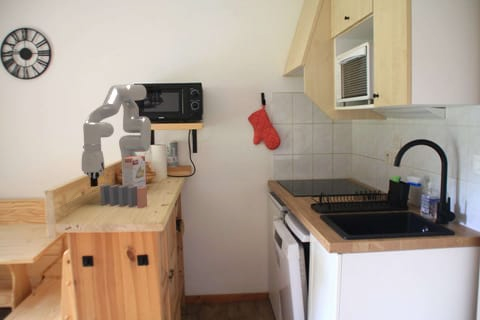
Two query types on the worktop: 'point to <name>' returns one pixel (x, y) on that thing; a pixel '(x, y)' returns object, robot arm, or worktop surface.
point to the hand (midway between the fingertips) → (94, 186)
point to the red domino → (142, 196)
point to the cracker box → (134, 171)
